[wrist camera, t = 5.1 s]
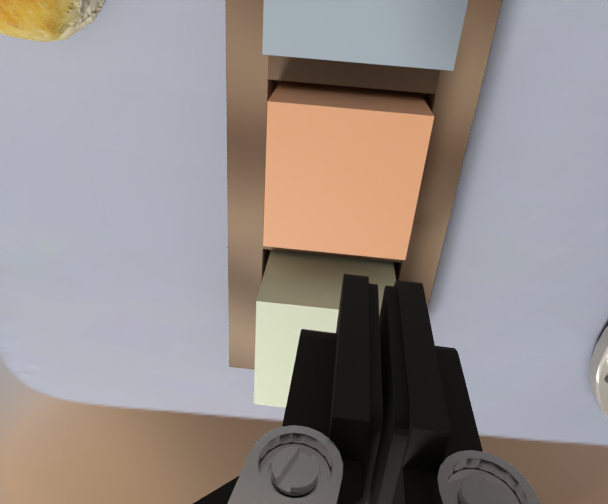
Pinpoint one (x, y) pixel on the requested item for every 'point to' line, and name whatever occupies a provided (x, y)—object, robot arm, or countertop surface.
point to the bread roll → (46, 18)
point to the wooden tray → (272, 69)
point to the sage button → (300, 311)
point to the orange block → (343, 168)
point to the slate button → (366, 31)
